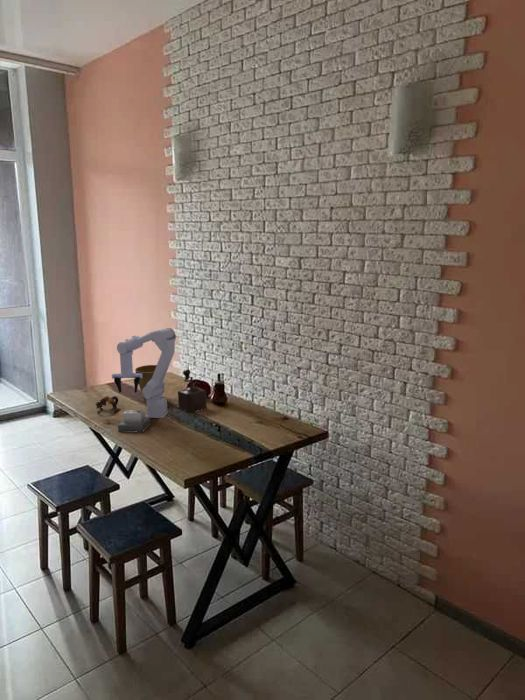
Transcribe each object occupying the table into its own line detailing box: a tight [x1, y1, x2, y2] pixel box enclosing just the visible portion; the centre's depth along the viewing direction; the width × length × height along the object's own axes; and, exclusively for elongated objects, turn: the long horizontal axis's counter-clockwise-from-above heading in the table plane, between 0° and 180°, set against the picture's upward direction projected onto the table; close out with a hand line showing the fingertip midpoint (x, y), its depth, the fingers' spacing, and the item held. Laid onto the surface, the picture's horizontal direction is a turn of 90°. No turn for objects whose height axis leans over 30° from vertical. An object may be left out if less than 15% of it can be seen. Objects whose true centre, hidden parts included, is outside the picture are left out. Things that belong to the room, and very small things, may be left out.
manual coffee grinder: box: [177, 369, 208, 414], centre depth 271 cm, size 16×11×18 cm
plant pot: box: [134, 364, 157, 395], centre depth 288 cm, size 15×15×16 cm
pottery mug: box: [95, 395, 119, 412], centre depth 269 cm, size 12×10×8 cm
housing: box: [122, 409, 145, 423], centre depth 244 cm, size 8×4×5 cm, turn 84°
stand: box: [117, 417, 151, 433], centre depth 245 cm, size 11×11×3 cm
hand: (128, 392), depth 267 cm, fingers open, 7 cm apart
